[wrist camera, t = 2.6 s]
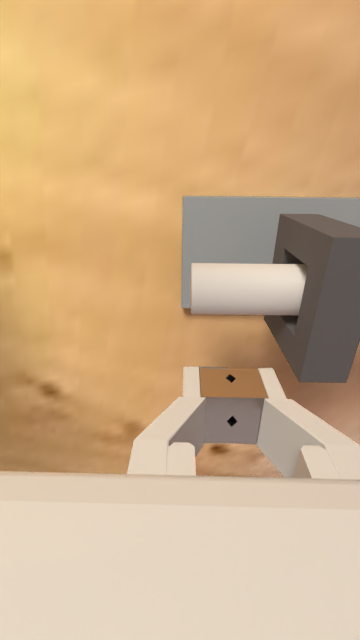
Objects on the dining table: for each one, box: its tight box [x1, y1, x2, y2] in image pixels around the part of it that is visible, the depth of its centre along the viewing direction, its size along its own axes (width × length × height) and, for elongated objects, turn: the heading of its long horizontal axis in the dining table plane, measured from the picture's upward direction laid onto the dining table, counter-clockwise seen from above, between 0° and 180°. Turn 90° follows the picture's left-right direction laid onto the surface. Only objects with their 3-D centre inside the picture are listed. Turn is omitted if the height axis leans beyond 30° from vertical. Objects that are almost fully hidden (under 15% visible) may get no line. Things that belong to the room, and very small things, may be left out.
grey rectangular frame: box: [264, 214, 360, 383], centre depth 18 cm, size 2×8×8 cm, turn 179°
